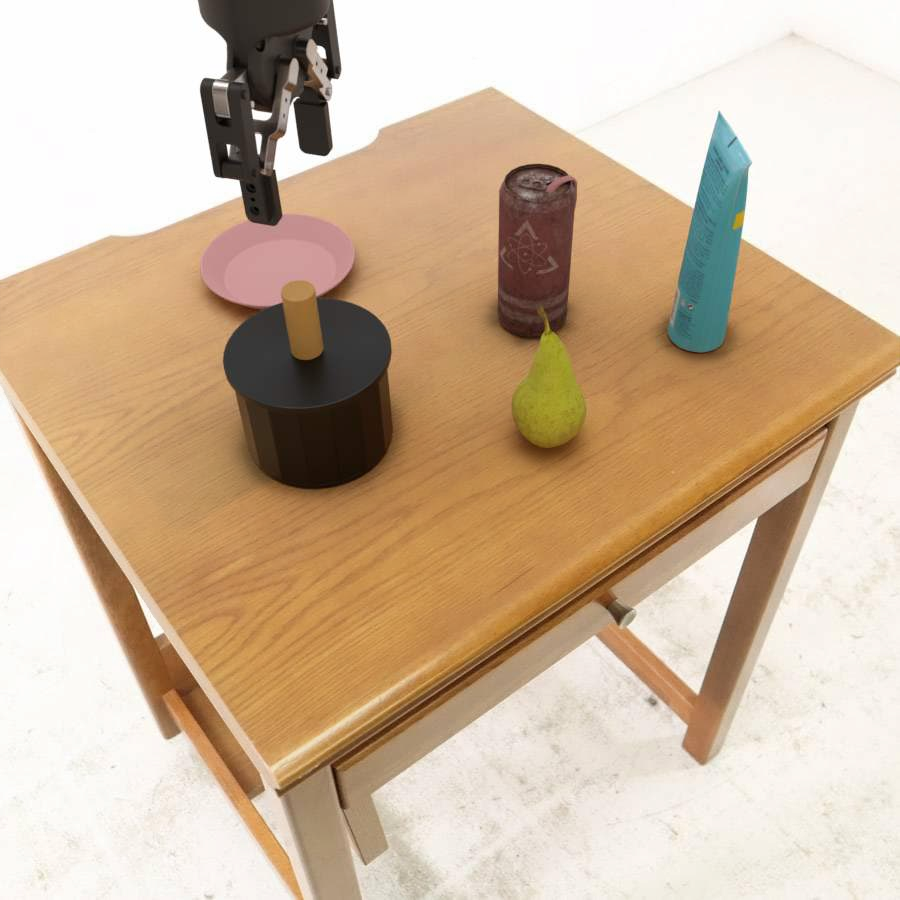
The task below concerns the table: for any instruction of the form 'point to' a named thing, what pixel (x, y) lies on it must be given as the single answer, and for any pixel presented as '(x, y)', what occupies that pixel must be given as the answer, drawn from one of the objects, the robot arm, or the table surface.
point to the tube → (712, 245)
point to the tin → (320, 440)
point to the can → (535, 247)
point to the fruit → (549, 395)
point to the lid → (307, 353)
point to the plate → (276, 259)
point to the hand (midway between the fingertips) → (291, 185)
